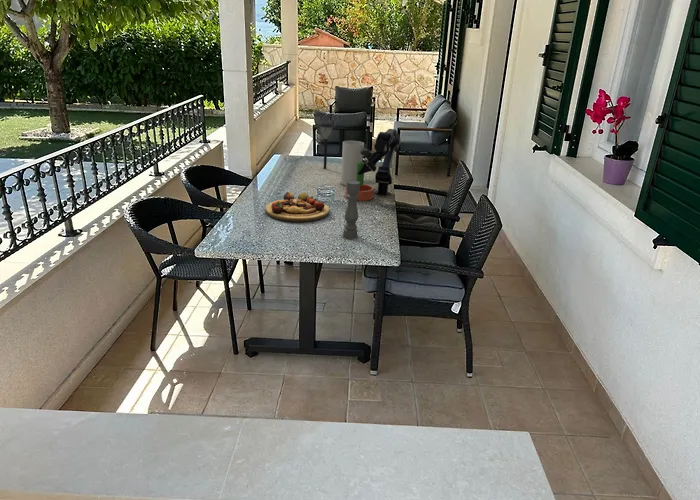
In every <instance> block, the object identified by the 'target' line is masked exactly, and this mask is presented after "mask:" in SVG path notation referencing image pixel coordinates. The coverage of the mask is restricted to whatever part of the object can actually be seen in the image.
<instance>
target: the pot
mask: <svg viewBox="0 0 700 500" xmlns="http://www.w3.org/2000/svg"><path fill="white" fill-rule="evenodd" d="M344 189H345V190H344V196H345V197H346V198H347V195H348V192H347V186H345V188H344ZM374 191H375V188H374V187H373V186H372V185H369V184H367V183H366V184H365V183H363V186H360V190H359V192H358V194H357V195H358V196H359V197H358V198H357V202H366V201H367V202H368V201H370V200H372V199H373V198H374V194H375V193H374Z"/></svg>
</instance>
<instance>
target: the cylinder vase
mask: <svg viewBox="0 0 700 500" xmlns="http://www.w3.org/2000/svg"><path fill="white" fill-rule="evenodd" d="M362 147H363V148H365V142H363V141H359V140H344V141H342V152H341V153H342V154H341V155H342V156H341V173H340V174H341V175H340V176H341V177H340V183H341V185H343V186H345V187H346V186H347V181H356V172H357V162H360V161H362V159H364V158H363V157H362V156H363V155H362V154H360V151H361V149H362Z"/></svg>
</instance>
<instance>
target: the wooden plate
mask: <svg viewBox="0 0 700 500" xmlns="http://www.w3.org/2000/svg"><path fill="white" fill-rule="evenodd" d="M264 210H265V213H266V214H267V215H268V216H269V217H272V218H274V219H277V220H281V221H285V222H311V221H312V222H313V221H318V220H321V219H323V218H326V217H327V216H328V215H329V214H330V207H329V206H328V205H327V204H325V202H324V201H319V200H318V199H317V198H314V196H313V195H309V194H308V193H306V192H305V191H303V192H301V193H299V194H298V196H297V198H295V195H294V194H293V192H292V191H290V190H288V191H286V192H285V193H284V195H283V198H282V199H278V200H274V201H271V202H269V203H267V204H266V206H265V209H264Z"/></svg>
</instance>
